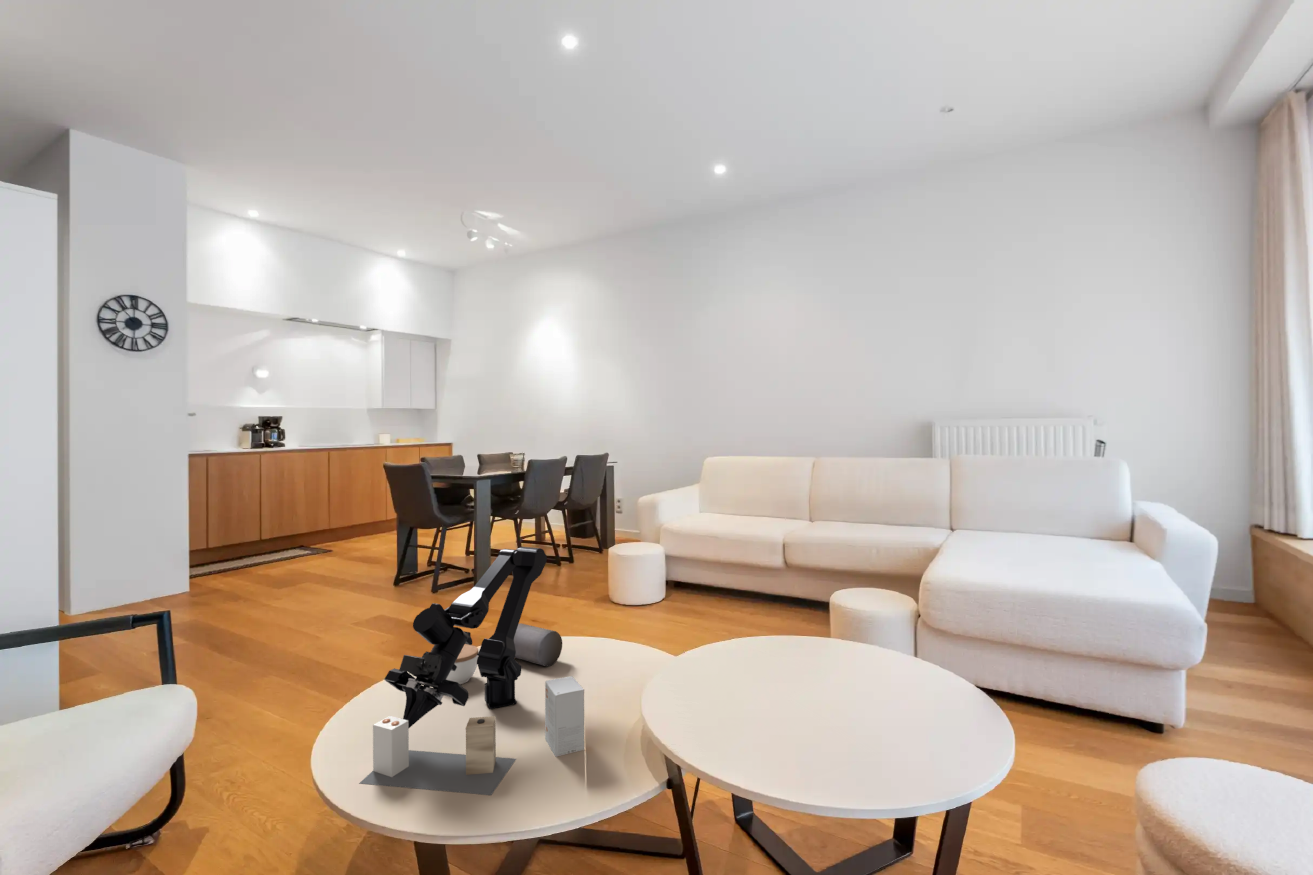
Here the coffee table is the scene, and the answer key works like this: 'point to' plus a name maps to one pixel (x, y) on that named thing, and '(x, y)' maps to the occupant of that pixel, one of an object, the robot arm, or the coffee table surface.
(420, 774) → the mat
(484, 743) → the tile one
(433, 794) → the coffee table surface
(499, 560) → the robot arm
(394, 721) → the tile two
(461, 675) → the lidded jar
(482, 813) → the coffee table surface
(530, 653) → the pillar candle
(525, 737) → the coffee table surface
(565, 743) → the small box
